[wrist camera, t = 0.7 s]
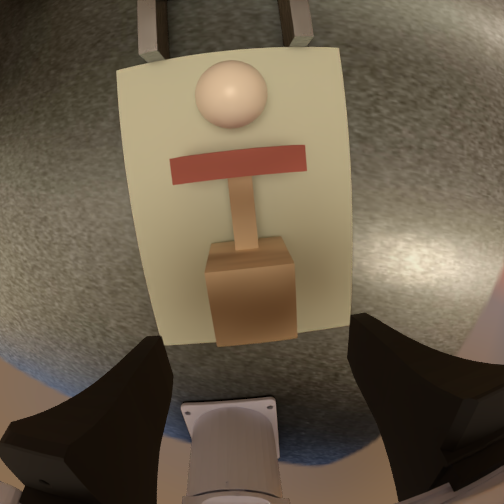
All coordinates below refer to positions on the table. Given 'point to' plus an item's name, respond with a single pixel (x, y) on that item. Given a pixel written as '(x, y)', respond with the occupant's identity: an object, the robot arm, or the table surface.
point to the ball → (231, 94)
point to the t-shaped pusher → (247, 248)
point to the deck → (217, 192)
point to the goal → (156, 27)
